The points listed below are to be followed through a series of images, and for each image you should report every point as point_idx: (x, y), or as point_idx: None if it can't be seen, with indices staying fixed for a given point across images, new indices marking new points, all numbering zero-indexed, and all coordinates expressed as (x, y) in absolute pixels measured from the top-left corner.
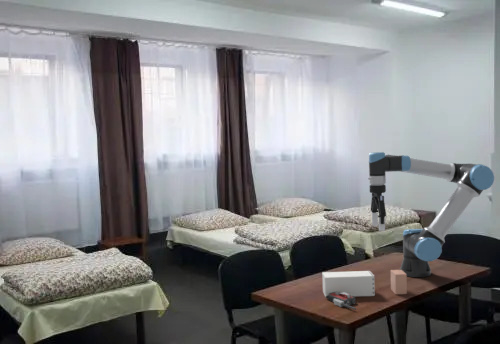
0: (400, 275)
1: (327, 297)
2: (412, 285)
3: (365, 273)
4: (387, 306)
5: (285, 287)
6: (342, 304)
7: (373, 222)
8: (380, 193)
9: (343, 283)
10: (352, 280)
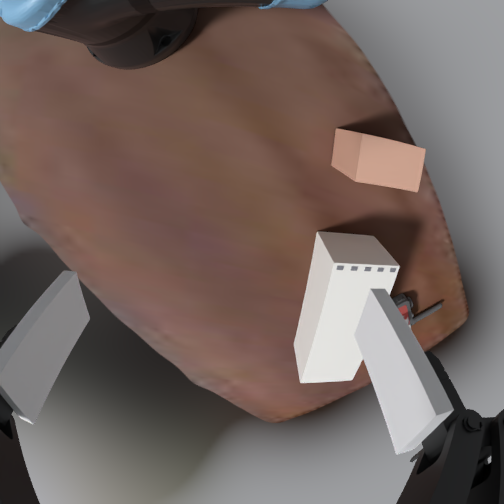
0: (419, 171)
1: None
2: (297, 72)
3: (361, 285)
4: (447, 232)
5: (242, 394)
6: (412, 324)
7: (72, 334)
8: None
9: None
10: None
